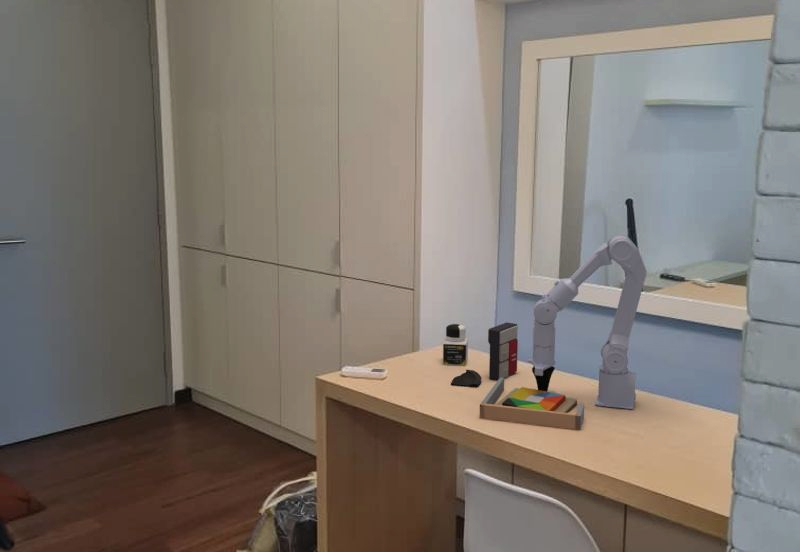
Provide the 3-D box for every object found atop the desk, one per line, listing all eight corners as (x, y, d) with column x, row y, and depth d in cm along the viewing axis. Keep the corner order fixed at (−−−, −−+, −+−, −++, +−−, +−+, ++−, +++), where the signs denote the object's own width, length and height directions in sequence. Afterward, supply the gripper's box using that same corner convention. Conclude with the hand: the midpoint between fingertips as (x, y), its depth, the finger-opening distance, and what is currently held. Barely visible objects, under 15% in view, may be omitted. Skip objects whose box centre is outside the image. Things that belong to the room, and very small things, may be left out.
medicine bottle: (442, 365, 231) (443, 327, 229) (445, 358, 238) (445, 322, 236) (465, 366, 230) (466, 328, 228) (467, 359, 237) (468, 323, 235)
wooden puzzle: (486, 413, 189) (487, 400, 189) (517, 393, 205) (517, 381, 204) (552, 427, 180) (552, 413, 179) (578, 405, 196) (579, 392, 195)
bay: (589, 399, 199) (590, 386, 198) (579, 430, 177) (580, 416, 176) (499, 389, 207) (499, 377, 206) (479, 418, 185) (479, 404, 184)
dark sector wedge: (487, 376, 221) (487, 370, 221) (478, 389, 208) (478, 384, 208) (460, 373, 224) (460, 368, 223) (449, 387, 211) (449, 381, 211)
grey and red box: (500, 381, 214) (501, 331, 212) (487, 379, 217) (488, 328, 214) (518, 372, 223) (519, 324, 220) (505, 370, 225) (506, 322, 223)
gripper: (533, 336, 206) (532, 383, 208) (523, 350, 192) (522, 400, 195) (559, 338, 203) (558, 386, 206) (551, 353, 190) (549, 403, 192)
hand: (542, 393), depth 200 cm, fingers closed, pressing on wooden puzzle
